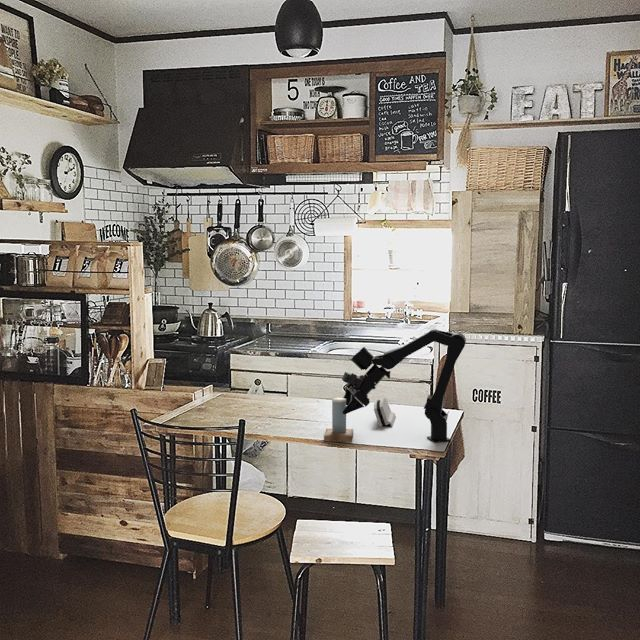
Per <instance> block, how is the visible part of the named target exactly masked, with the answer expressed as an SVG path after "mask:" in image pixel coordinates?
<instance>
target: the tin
mask: <svg viewBox="0 0 640 640" xmlns="http://www.w3.org/2000/svg"><path fill="white" fill-rule="evenodd" d="M331 403H332V406H331V409H332V411H331V412H332V414H331V415H332V416H331V418H332V421H331V422H332V423H331V424H332V425H331V426H332V428H331V429H332V432H333V433H337V434H342V433H346V429H347V414H343V413H342V412H343V411H344V409H345V408H346V406H347V405H346V399H345V398H343V397H334V398H332V399H331Z"/></svg>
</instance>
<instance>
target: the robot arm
mask: <svg viewBox="0 0 640 640" xmlns="http://www.w3.org/2000/svg"><path fill="white" fill-rule="evenodd" d="M466 341H467V339H466V336H465V335H464V334H463V333H461V332H454V333H451V332H447V331H444V330H443V331H442V330H439V329H435V328H432V329H430V330H429V331H428V332H426V333H424V334H422V335H421V336H419V337H418V338H416V339H414V340H412V341H410V342H408V343H407V344H405V345H403V346H400V347H396V348H394V349H391V350H388V351H386V352H384V354H381V355H378V354H377V355H375V356H374V355H373V354H372V353H371V352H369V350H368V349H367V348H366V347H365V346H363V347H361V349H360V350H359V351H358V352H356V353H355V355H353V356H352V357H351V359H350V361H351V362H352V363H353V364H354V365H355V366H357V367H358V368H359V370H360V371H364V370H365V371H366V372H365V373H364V374H360V375H359V376H358V375H357V374H354V373H350V372H347V371H344V374H343V376H342V378H341V381H343V382H344V383H345V385H344V386H345V387H344V395H343V397H342V398H345V399H346V408H345V409H344V411H343V412H342V413H343V414H346V415H347V414H349V413H351V412H354V411H357V410H359V409H361V408H365V407H367V406H368V405H370V402H371V401H370V398H369V397H368V394H370V393H371V391H372V390H375V389H376V388H377V385H378V384H379V383H380V382H381V381H382V380H383V378H385V377H386V378H387V379H391V370H392V369H394V368H395V367H396V366H397V365H398V364H399V363H401V362H402V361H403V360H405V359H406V358H407V357H408V356H411V355H412V354H415V352H417V351H419V350H421V349H422V348H424V347H427V346H428V345H430V344H431V343H438V344H441V345H443V346H447V349H446V358H445V361H444V363H443V367H442V369H441V373H440V375H439V378H438V381H437V384H436V387H435V390H434V392H433V394H432V395H430V394H428V396H427V398H426V401H425V402H426V403H425V404H424V406H423V409H424V415H425V417H426V418H427V419H428V420H429V422H430V435H429V436H426V439H428V440H430V441H431V440H432V442H433V441H434V442H433V443H440V442H439V441H443V442H451V440H452V439H451V438H450V437H448V422H447V421H448V417H449V414H448V413H447V412H446V411H445V410H444V408H443V407H444V400H445V394H446V391H447V388H448V385H449V382H450V379H451V377H452V374H453V371H454V367H455V366H456V365H455V364H456V363H457V360H458V358H459V357H460V355H461V353H462V351H463V350H464V348H465V346H466ZM379 366H380V367H379ZM388 370H389V371H388Z"/></svg>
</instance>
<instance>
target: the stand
mask: <svg viewBox="0 0 640 640" xmlns="http://www.w3.org/2000/svg"><path fill="white" fill-rule="evenodd" d="M353 439H354V428H346V433H342V434H337V433H333V432H332V428H326V429H325V431H324V435H323V442H338V443H339V442H340V443H341V442H343V443H344V442H345V443H349V442H350V443H352V442H353Z"/></svg>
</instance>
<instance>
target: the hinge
mask: <svg viewBox="0 0 640 640" xmlns="http://www.w3.org/2000/svg"><path fill="white" fill-rule="evenodd" d="M373 411H374V414H375V418H376V421H377V424H378V426H380V428H381V427H383V426H387V425H390V427H391V428H393V427H394V423H395V421H396V418H397V416H396V414H395V412H393V411H392V410H391V407H390V404H389V403H388V400H387V398H385V397H384V398H380V399H377V400H375V401H374V404H373Z"/></svg>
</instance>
